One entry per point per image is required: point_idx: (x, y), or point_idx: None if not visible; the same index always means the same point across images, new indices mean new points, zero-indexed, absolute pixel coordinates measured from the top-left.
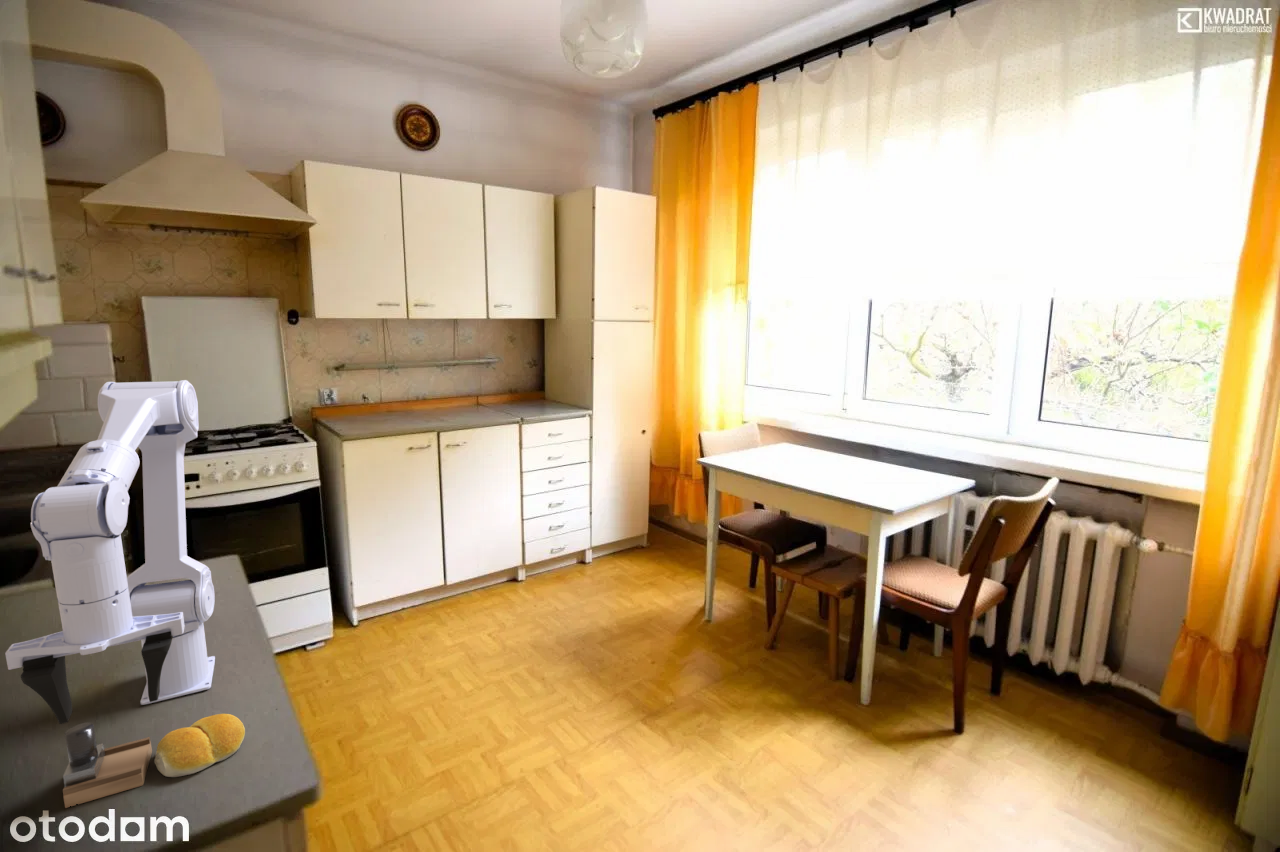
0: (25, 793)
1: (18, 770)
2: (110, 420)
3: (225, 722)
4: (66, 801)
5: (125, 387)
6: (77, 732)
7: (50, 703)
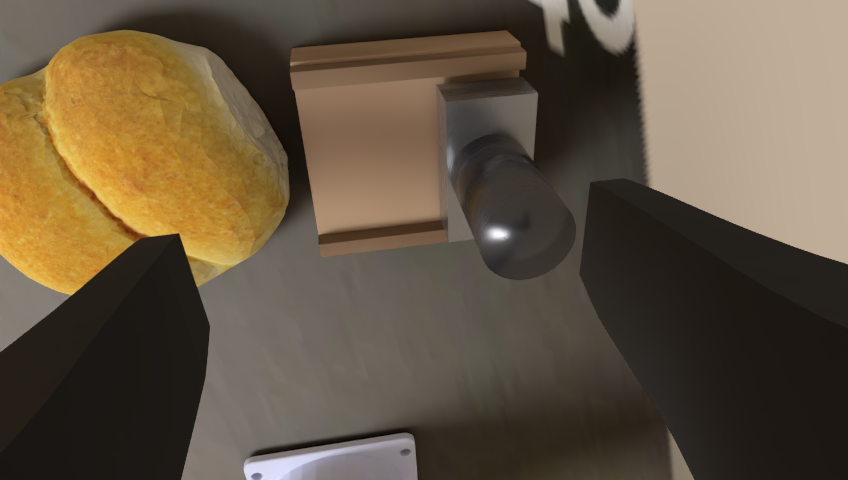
0: (616, 159)
1: None
2: None
3: (5, 217)
4: (507, 36)
5: None
6: (531, 220)
7: (747, 237)
